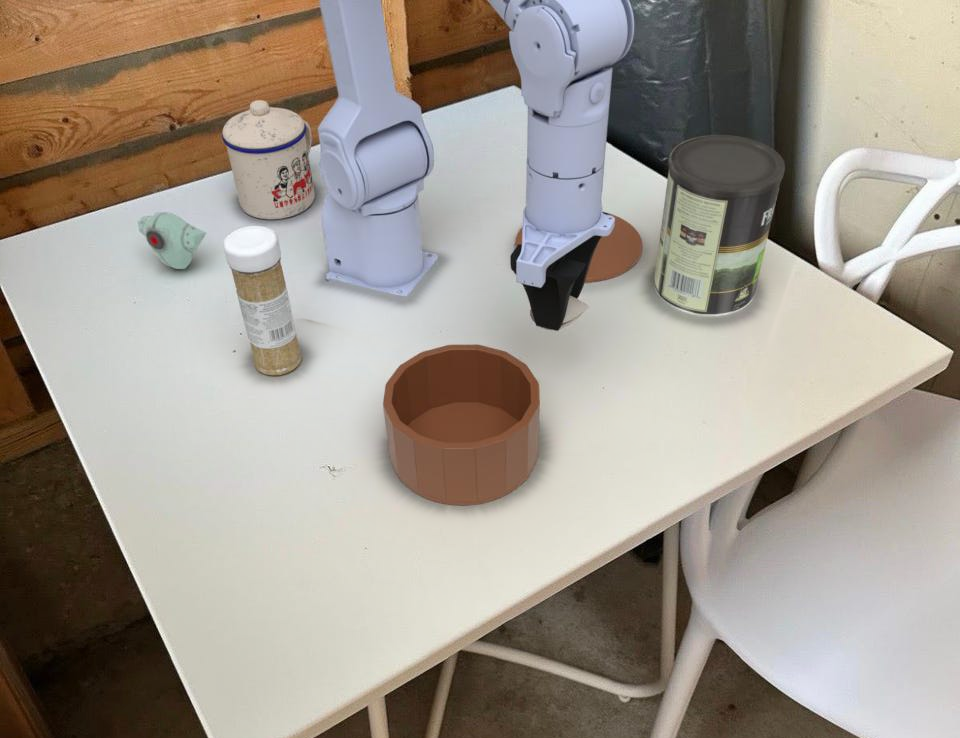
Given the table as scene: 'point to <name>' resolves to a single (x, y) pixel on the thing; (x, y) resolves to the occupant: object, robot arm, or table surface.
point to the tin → (462, 423)
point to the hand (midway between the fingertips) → (557, 310)
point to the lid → (611, 251)
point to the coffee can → (716, 223)
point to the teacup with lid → (270, 161)
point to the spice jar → (263, 298)
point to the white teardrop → (570, 311)
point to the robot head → (171, 238)
